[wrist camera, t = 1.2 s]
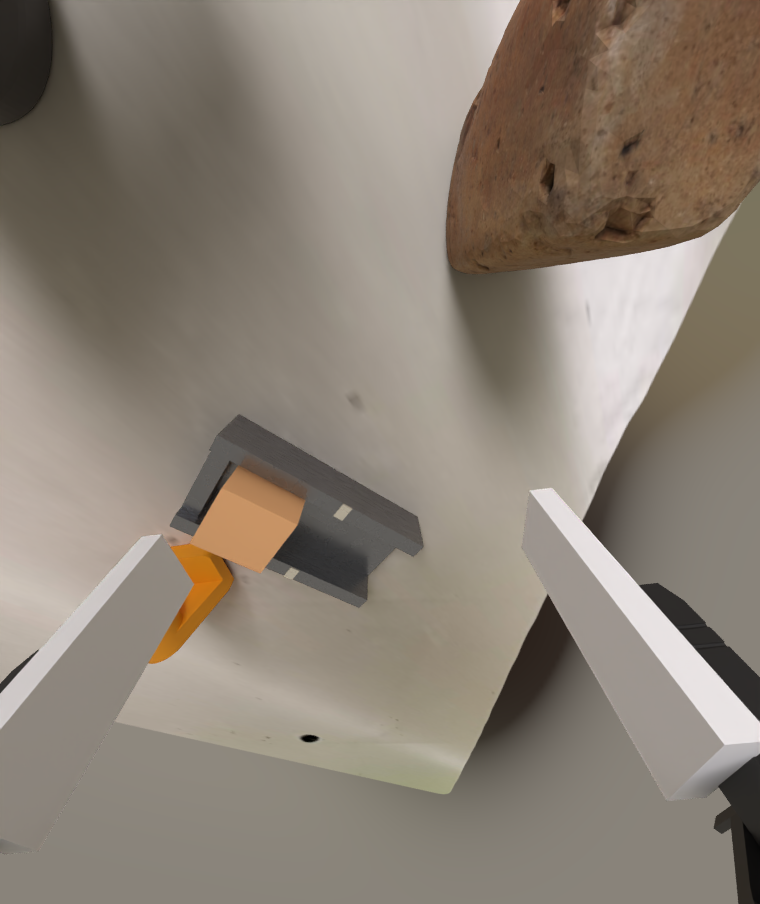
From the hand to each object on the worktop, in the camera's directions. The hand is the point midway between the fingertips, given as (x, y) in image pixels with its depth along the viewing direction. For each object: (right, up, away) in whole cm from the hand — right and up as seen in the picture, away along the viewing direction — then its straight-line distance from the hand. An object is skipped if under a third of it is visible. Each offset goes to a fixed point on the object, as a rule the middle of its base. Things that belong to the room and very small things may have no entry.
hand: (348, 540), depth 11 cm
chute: (-8, -4, +30) cm, 31 cm away
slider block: (-13, -2, +26) cm, 29 cm away
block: (+10, +25, +15) cm, 30 cm away
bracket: (-27, -13, +34) cm, 45 cm away
